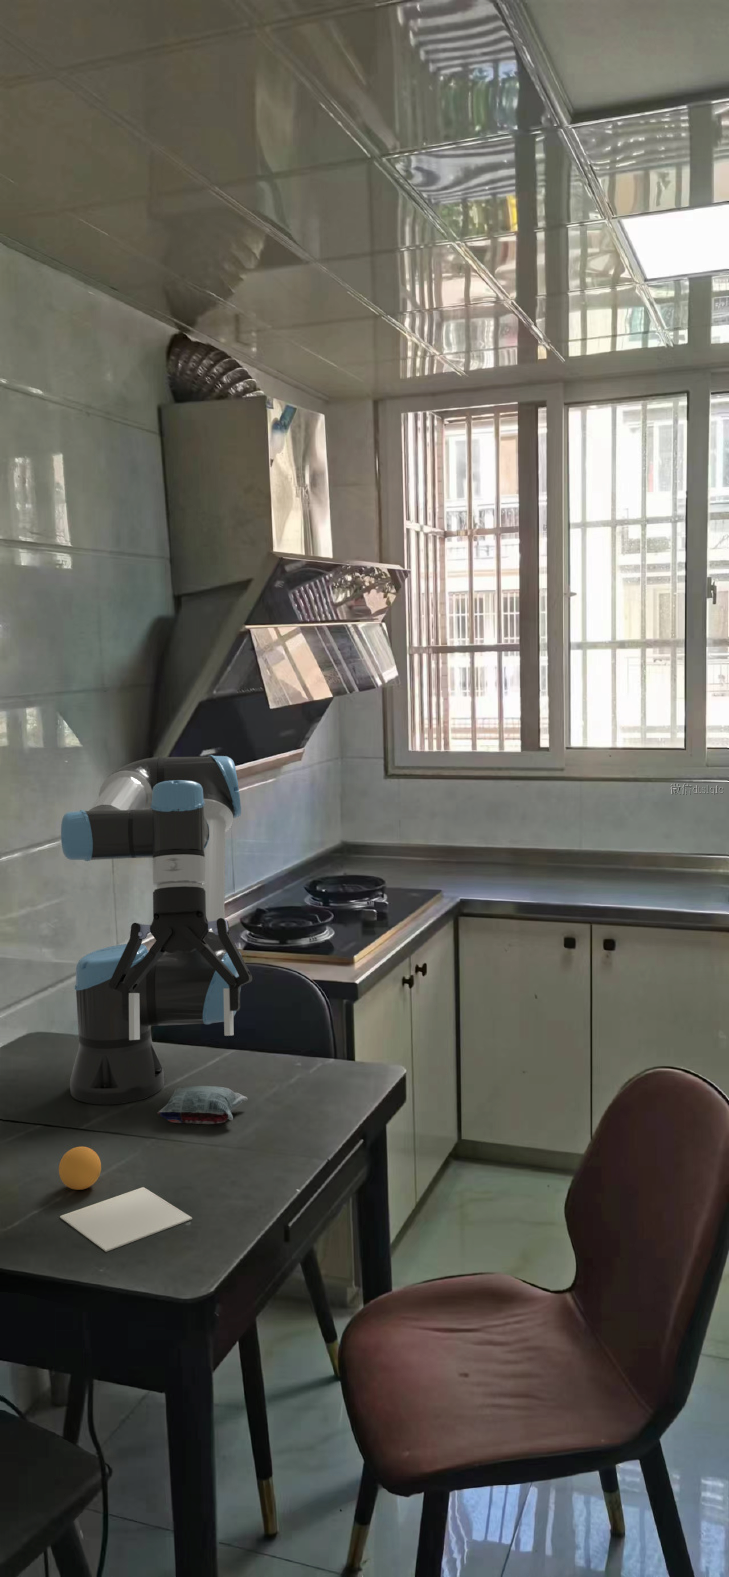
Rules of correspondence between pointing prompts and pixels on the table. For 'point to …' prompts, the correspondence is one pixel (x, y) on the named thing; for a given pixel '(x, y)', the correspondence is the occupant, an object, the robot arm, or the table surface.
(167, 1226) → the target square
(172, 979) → the robot arm
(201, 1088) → the packaged food
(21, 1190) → the table surface
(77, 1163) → the ball
